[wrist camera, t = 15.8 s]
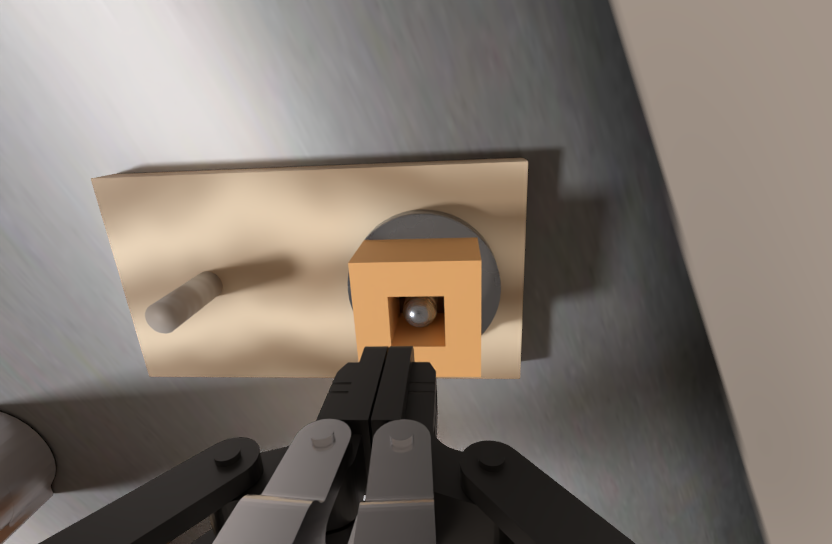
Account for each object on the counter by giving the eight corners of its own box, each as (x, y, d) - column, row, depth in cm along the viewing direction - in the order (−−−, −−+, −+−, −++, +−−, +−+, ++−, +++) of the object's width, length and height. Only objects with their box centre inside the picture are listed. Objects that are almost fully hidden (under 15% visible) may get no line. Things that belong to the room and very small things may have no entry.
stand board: (516, 362, 31) (532, 430, 25) (166, 361, 33) (96, 423, 27) (523, 157, 26) (545, 173, 20) (114, 173, 29) (13, 193, 22)
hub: (497, 345, 28) (506, 393, 24) (359, 345, 29) (341, 391, 25) (499, 207, 25) (510, 229, 21) (345, 211, 26) (321, 234, 21)
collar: (477, 339, 27) (481, 377, 23) (372, 339, 27) (359, 376, 24) (477, 237, 25) (481, 260, 21) (363, 240, 25) (348, 263, 21)
